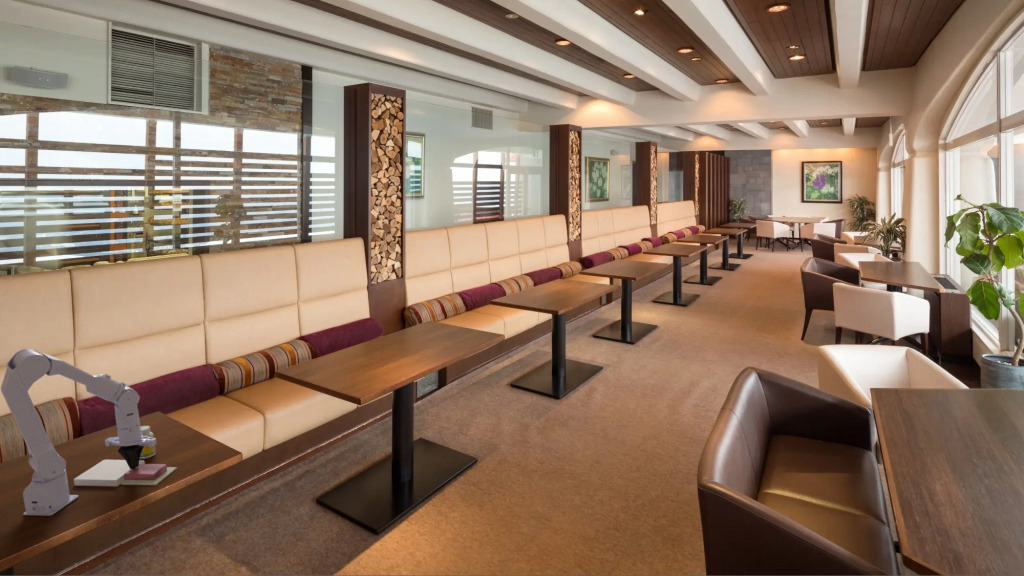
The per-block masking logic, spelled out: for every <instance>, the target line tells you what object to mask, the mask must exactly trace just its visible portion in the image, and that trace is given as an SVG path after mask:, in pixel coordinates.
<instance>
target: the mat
mask: <svg viewBox="0 0 1024 576" xmlns="http://www.w3.org/2000/svg"><path fill="white" fill-rule="evenodd" d="M177 469H178V467H177V466H175V467H174V466H167V471H166V472H164V473H163V474H162V475H160V476H159V477H158V478H157V479H155V480H124V481H123V482H122V483H120V486H121V485H125V486H126V485H127V486H157V485H158V484H159V483H160V482H162V481H163V480H164V479H165V478H167V477H168V476H169V475H171V474H172V473H173V472H175V470H177Z"/></svg>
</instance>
